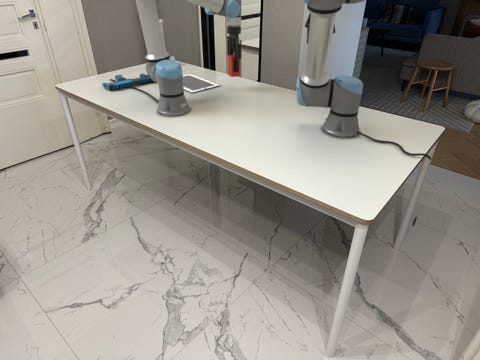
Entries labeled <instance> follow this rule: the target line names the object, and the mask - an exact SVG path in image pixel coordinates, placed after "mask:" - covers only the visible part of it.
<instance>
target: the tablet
mask: <svg viewBox="0 0 480 360" xmlns="http://www.w3.org/2000/svg"><path fill="white" fill-rule="evenodd" d="M182 76H183V88H184V91H185V92H188V93H191V94H195V93H197V92H201V91H206V90H210V89H213V88H217V87H221V85H220V84H219V83H216V82H213V81H210V80H208V79H205V78H202V77H200V76H197V75H195V74H192V73H187V74H182Z"/></svg>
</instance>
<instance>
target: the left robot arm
mask: <svg viewBox="0 0 480 360" xmlns="http://www.w3.org/2000/svg"><path fill="white" fill-rule="evenodd" d="M186 1H187V2H190V3H191V4H194V5H196V6H199V7H201V8H204V12H205V13H206V15H208V16H214V15H216V16H221V17H225V18H226V25H227V26H226V33H227V34H228V35H227V36H226V54H227V56H228V55H234V58H235V59H233V60H234V72H238V71H239V59H240V60H241V59H242V42H243V41H242V39H240V37H239V35H240V34H241V33H242V26H241V25H242V0H186ZM135 4H136V9H137V13H138V17H139V22H140V27H141V30H142V34H143V39H144V42H145V47H146V53H147V54H146V55H145V62H146V64H145V71H146V75H148V76H149V77H150V78H151V79H152V80H154V81H153V82H154V83H156V84H158V90H159V100H158V99H157V98H155V97H154V96H153V95H151V94H150V93H148V92H147V91H145V90H143V89H141V88H138V87H134V86H133V85H130V86H127V87H128V88H131V89H134V90H137V91H139V92H142V93H144V94H146V95H147V96H149V97H150V98H152V99H153V100H154V101H155V102H157V103H158V106H157V111H158V114H159V115H162V116H165V117H179V116H183V115H185V114H187V113H189V112H190V105H189V103H188V101H187V98H186V96H185V90H184V88H183V76H182V75H183V69H182V65H181V63H180V62H179V61H177V60H175V61H172V60H170V57H171V56H170V53H169V52H167V50H166V51H165V49H166V46H165V47H164V42H163V37H162V32H161V27H160V22H159V20H160V18H159V12H158V8H157V2H156V0H135ZM109 81H112V82H118V81H117V80H116V79H112V78H110V80H109Z"/></svg>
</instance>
